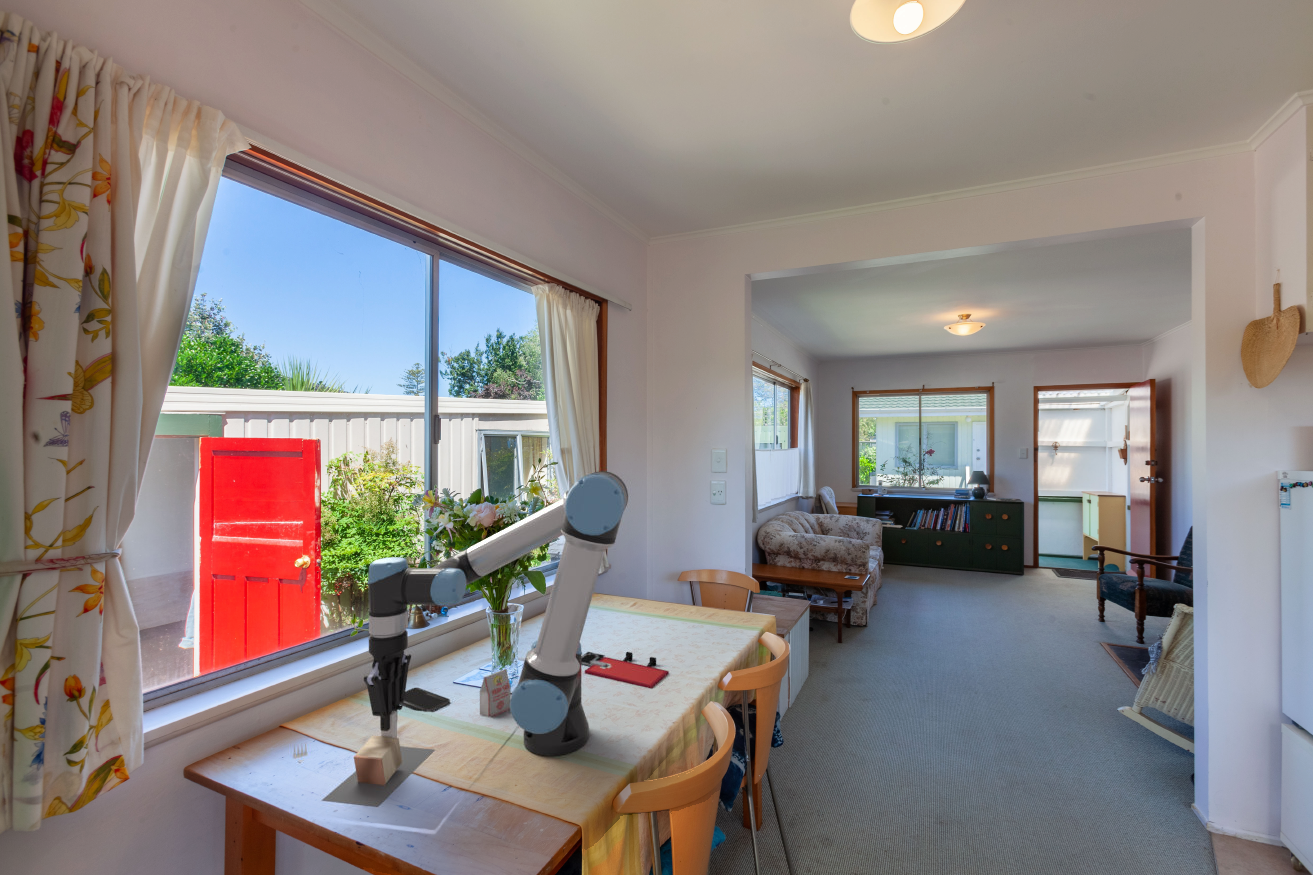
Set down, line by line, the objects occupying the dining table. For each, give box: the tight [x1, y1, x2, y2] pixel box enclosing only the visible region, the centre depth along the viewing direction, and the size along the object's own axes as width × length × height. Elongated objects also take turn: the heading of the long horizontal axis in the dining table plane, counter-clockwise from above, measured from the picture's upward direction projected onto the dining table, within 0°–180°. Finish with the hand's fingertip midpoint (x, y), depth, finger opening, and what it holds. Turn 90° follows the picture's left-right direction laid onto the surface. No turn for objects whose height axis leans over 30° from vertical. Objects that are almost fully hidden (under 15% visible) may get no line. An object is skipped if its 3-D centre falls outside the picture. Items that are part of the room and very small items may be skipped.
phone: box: [399, 687, 451, 713], centre depth 153 cm, size 8×1×15 cm
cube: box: [353, 735, 402, 785], centre depth 118 cm, size 6×6×6 cm
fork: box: [293, 742, 308, 764], centre depth 122 cm, size 3×16×2 cm, turn 35°
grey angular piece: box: [479, 668, 512, 718], centre depth 147 cm, size 4×7×10 cm, turn 141°
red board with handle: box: [581, 651, 669, 689], centre depth 174 cm, size 30×3×15 cm
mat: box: [321, 745, 435, 808], centre depth 119 cm, size 12×20×1 cm, turn 171°
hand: (389, 742), depth 121 cm, fingers closed
